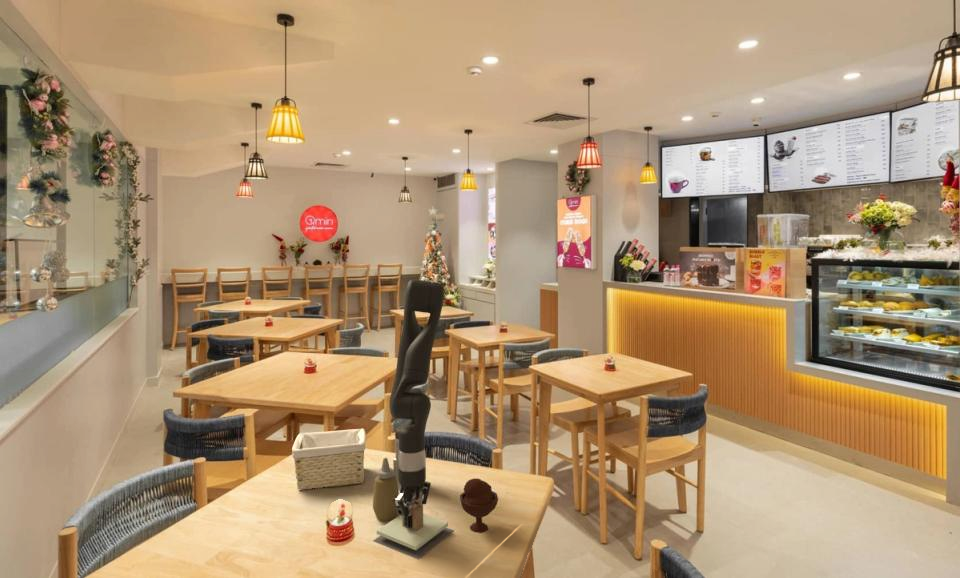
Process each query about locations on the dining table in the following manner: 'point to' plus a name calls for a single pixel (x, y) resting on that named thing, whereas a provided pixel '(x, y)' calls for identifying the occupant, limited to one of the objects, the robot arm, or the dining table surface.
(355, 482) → the storage basket
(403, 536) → the cover
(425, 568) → the dining table surface
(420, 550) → the mat
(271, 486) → the dining table surface
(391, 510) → the squeeze bottle
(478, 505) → the ice cream bowl
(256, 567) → the dining table surface
